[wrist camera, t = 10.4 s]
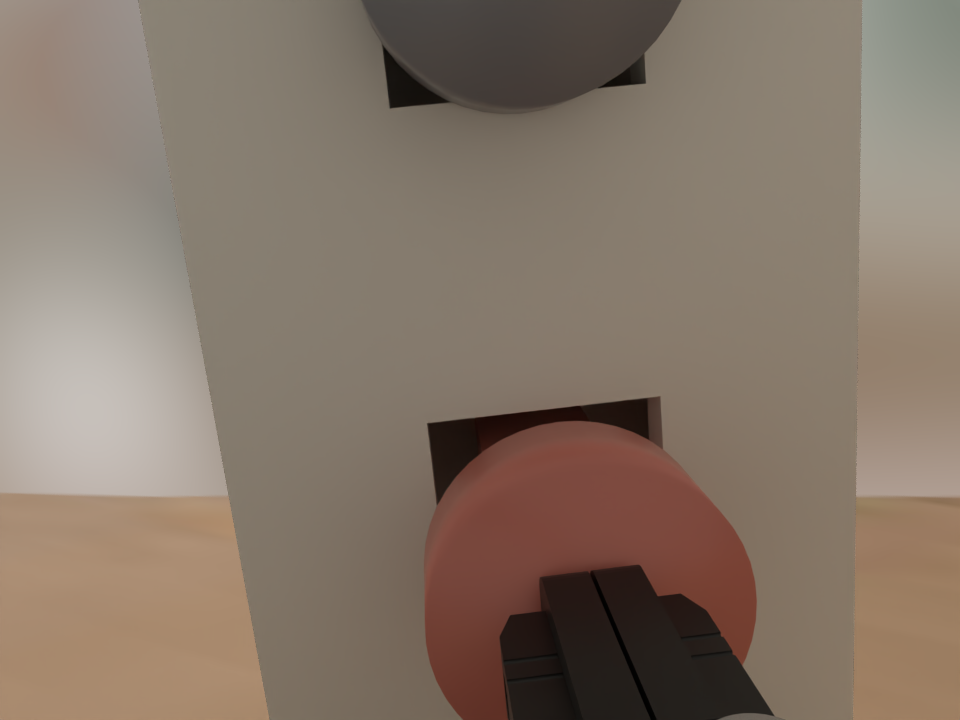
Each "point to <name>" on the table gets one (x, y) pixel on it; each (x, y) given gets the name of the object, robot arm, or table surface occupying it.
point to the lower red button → (566, 540)
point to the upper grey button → (516, 46)
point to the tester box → (516, 311)
